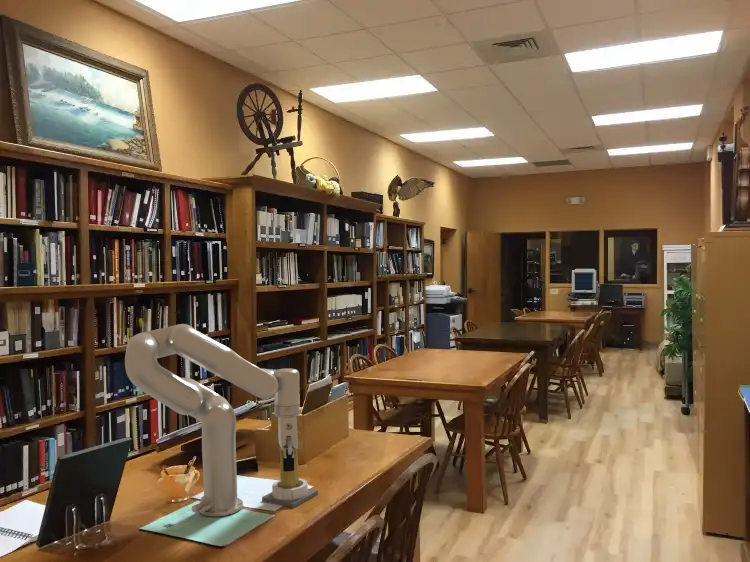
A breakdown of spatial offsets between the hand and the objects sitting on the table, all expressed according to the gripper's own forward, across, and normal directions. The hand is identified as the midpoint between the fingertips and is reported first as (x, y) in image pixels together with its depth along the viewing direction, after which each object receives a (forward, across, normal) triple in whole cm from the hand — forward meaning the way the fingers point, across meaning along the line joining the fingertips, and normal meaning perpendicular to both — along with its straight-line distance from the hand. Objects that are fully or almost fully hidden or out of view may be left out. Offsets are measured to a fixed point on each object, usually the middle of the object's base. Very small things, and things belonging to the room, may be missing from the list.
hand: (286, 466), depth 189 cm
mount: (+10, 0, -1) cm, 10 cm away
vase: (+9, 0, -1) cm, 9 cm away
